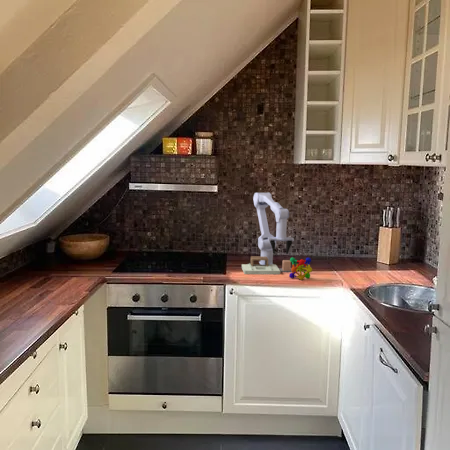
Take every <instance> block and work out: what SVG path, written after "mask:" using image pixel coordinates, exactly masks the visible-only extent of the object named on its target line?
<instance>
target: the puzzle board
mask: <svg viewBox="0 0 450 450" xmlns="http://www.w3.org/2000/svg"><path fill="white" fill-rule="evenodd" d="M279 268H280V267H278V265H277V264H274V265H269V263H268V266H266V265H265V264H260V263H259V264H258V263H256V264H254V263H253V266H251V264H250V262H249V263H247V264H243V263H242V264H241V269H242V272H243V274H244V275H281V271H280V270H279Z"/></svg>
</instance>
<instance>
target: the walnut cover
mask: <svg viewBox="0 0 450 450" xmlns="http://www.w3.org/2000/svg"><path fill="white" fill-rule="evenodd" d="M261 260H265V265H266V266H268V258H267V257H261V255H260V256H255V255H254V256H252V255H251V256H250V262H249V263H250V264H251V266H253V264H254V261H261Z"/></svg>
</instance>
